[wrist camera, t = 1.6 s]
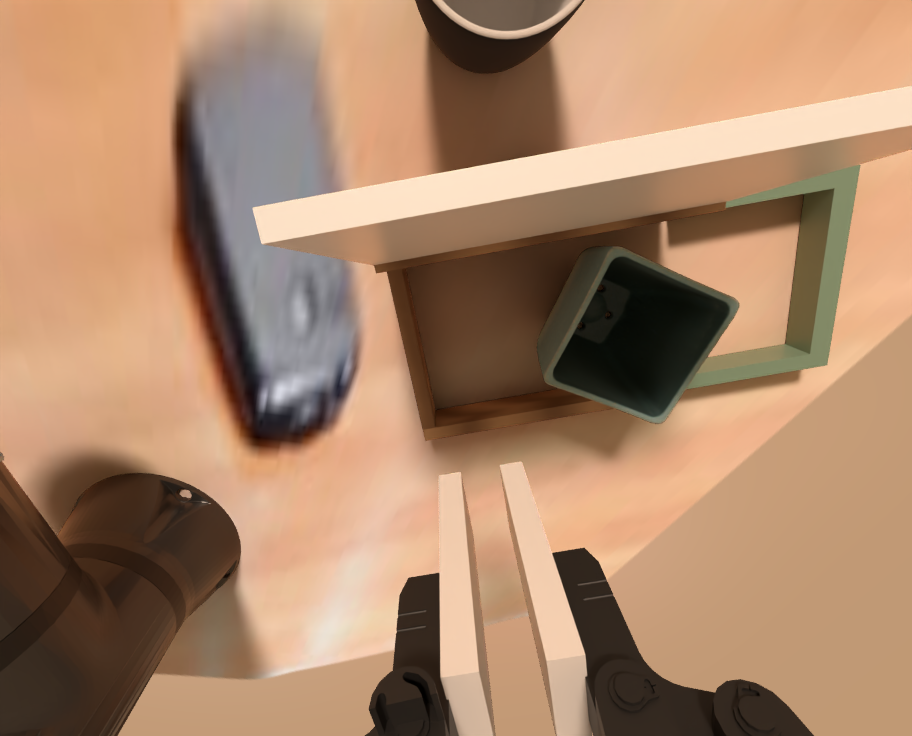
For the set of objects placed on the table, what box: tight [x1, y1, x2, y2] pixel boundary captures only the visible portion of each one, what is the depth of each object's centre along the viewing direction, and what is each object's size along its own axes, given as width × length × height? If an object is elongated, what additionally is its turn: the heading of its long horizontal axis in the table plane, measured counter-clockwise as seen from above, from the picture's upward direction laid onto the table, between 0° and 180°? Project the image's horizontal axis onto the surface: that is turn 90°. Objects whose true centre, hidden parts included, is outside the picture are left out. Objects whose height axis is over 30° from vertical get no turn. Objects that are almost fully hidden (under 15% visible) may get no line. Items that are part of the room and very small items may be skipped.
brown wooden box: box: [374, 202, 726, 441], centre depth 30 cm, size 20×15×8 cm
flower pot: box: [537, 246, 739, 424], centre depth 29 cm, size 9×9×9 cm
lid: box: [253, 86, 912, 265], centre depth 17 cm, size 20×14×1 cm
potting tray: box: [687, 165, 860, 389], centre depth 32 cm, size 12×14×2 cm
